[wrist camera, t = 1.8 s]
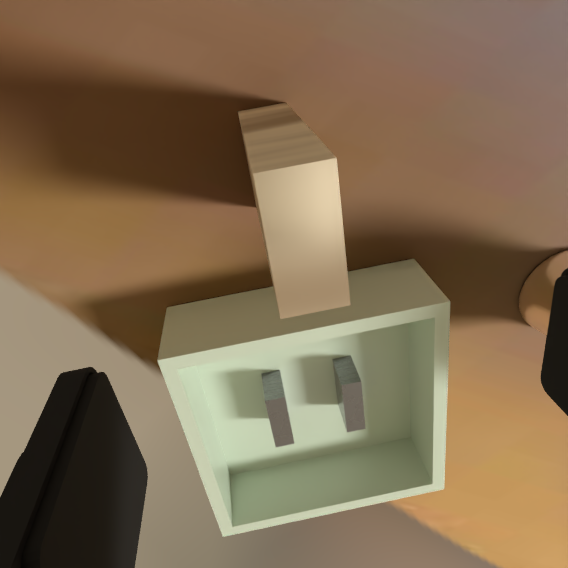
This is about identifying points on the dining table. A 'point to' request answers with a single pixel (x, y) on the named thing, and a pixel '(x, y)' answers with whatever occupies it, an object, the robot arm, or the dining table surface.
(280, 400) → the wick clip
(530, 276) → the metal tumbler
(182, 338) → the pale green prong tray
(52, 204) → the dining table surface
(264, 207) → the upright wooden plank
